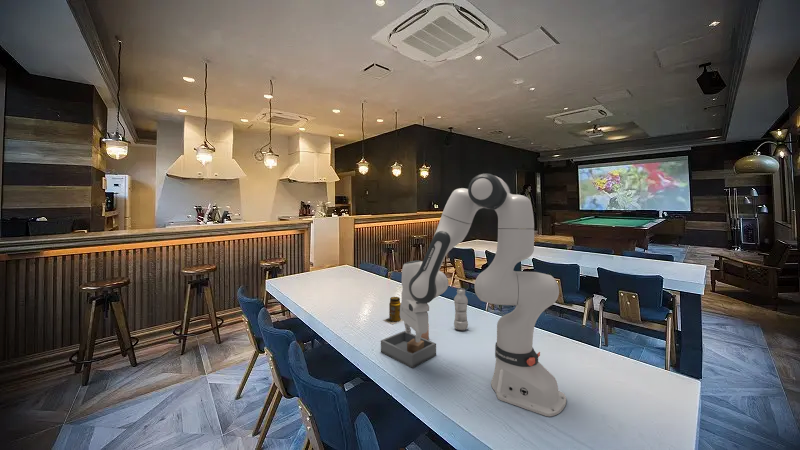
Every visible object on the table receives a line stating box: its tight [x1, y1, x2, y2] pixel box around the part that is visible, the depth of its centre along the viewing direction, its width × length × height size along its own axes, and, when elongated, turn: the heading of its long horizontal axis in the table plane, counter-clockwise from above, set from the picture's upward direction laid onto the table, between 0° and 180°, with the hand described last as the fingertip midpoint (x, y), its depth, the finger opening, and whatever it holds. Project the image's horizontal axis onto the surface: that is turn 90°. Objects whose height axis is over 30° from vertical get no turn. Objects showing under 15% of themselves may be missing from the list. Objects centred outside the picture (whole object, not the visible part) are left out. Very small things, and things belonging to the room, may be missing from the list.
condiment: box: [383, 296, 404, 325], centre depth 162 cm, size 7×8×12 cm
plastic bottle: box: [453, 287, 469, 331], centre depth 149 cm, size 6×7×20 cm
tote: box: [380, 330, 437, 369], centre depth 125 cm, size 18×14×5 cm
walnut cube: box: [407, 339, 424, 353], centre depth 123 cm, size 5×5×5 cm
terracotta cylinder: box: [421, 322, 430, 341], centre depth 139 cm, size 5×5×7 cm
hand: (412, 337), depth 120 cm, fingers open, 8 cm apart
